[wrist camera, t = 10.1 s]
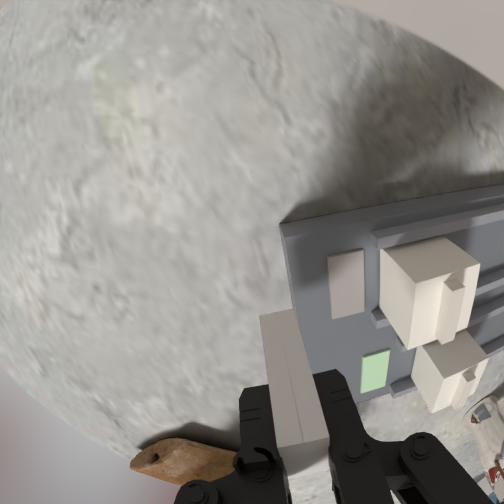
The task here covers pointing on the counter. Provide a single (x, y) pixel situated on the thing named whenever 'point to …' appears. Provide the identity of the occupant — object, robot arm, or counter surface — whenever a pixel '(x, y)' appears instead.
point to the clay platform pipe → (183, 461)
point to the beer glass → (489, 440)
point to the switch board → (368, 282)
